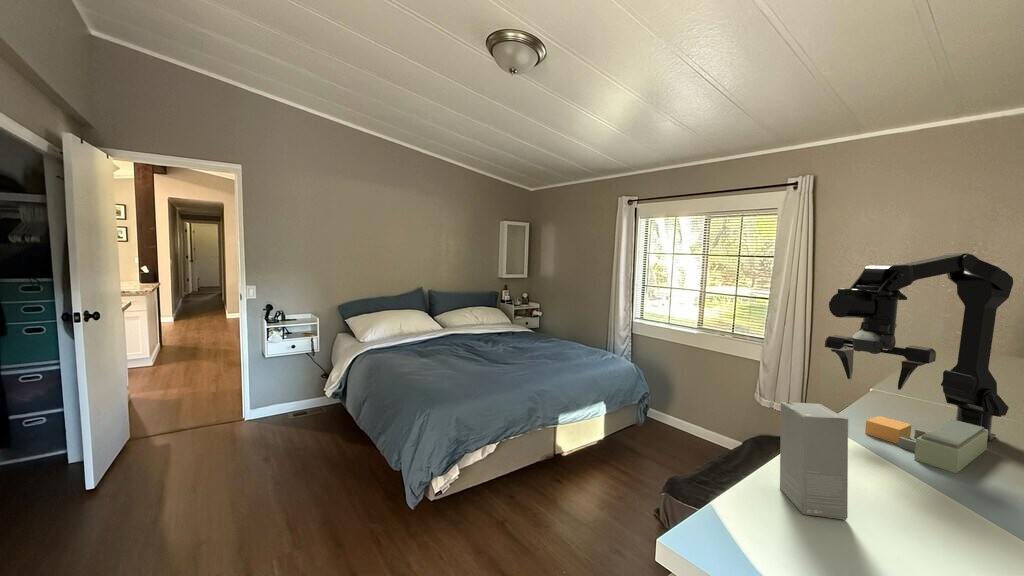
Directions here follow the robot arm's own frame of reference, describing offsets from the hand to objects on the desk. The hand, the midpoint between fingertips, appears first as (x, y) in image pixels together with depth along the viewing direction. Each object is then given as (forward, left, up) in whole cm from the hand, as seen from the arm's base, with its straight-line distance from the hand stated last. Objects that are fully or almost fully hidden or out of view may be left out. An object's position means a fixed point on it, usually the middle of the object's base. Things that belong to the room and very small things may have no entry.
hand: (873, 384), depth 96 cm
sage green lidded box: (-2, +11, -12) cm, 17 cm away
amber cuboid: (-2, +3, -12) cm, 13 cm away
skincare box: (+47, +7, -12) cm, 49 cm away
